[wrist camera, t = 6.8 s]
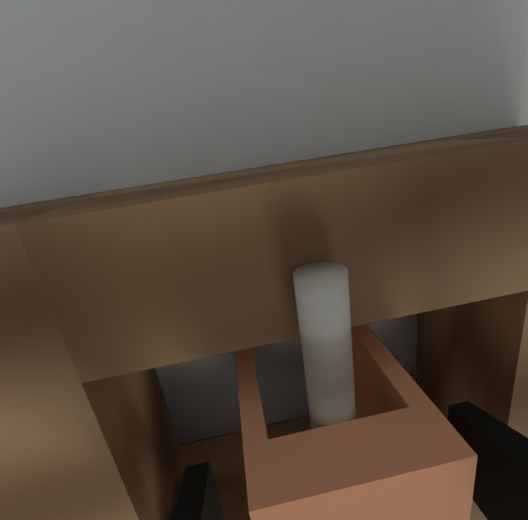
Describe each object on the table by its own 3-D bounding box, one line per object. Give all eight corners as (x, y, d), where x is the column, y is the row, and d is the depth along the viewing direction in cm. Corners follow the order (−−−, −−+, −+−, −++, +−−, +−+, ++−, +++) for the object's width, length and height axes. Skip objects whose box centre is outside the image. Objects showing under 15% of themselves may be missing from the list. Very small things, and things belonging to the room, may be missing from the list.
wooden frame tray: (482, 432, 18) (609, 567, 12) (118, 521, 16) (64, 728, 10) (519, 125, 12) (783, 106, 7) (-23, 212, 11) (-302, 285, 5)
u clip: (367, 405, 13) (463, 570, 8) (251, 431, 13) (275, 623, 8) (363, 321, 12) (477, 455, 7) (234, 347, 11) (249, 511, 6)
